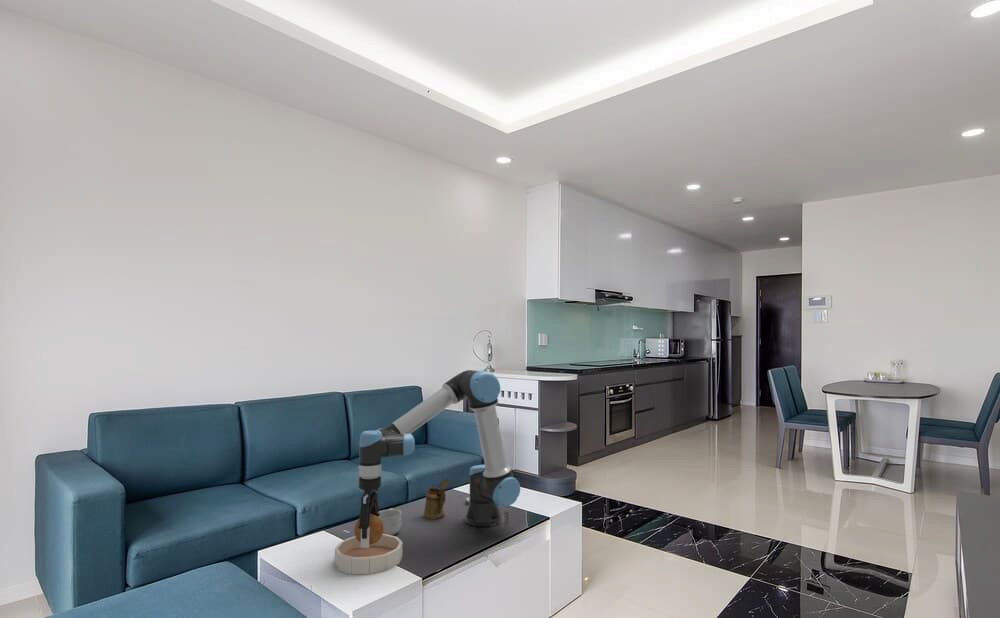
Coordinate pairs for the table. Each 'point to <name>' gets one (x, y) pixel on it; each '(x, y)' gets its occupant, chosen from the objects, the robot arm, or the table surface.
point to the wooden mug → (436, 501)
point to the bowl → (368, 555)
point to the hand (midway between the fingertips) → (368, 541)
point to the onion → (371, 529)
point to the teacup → (390, 521)
